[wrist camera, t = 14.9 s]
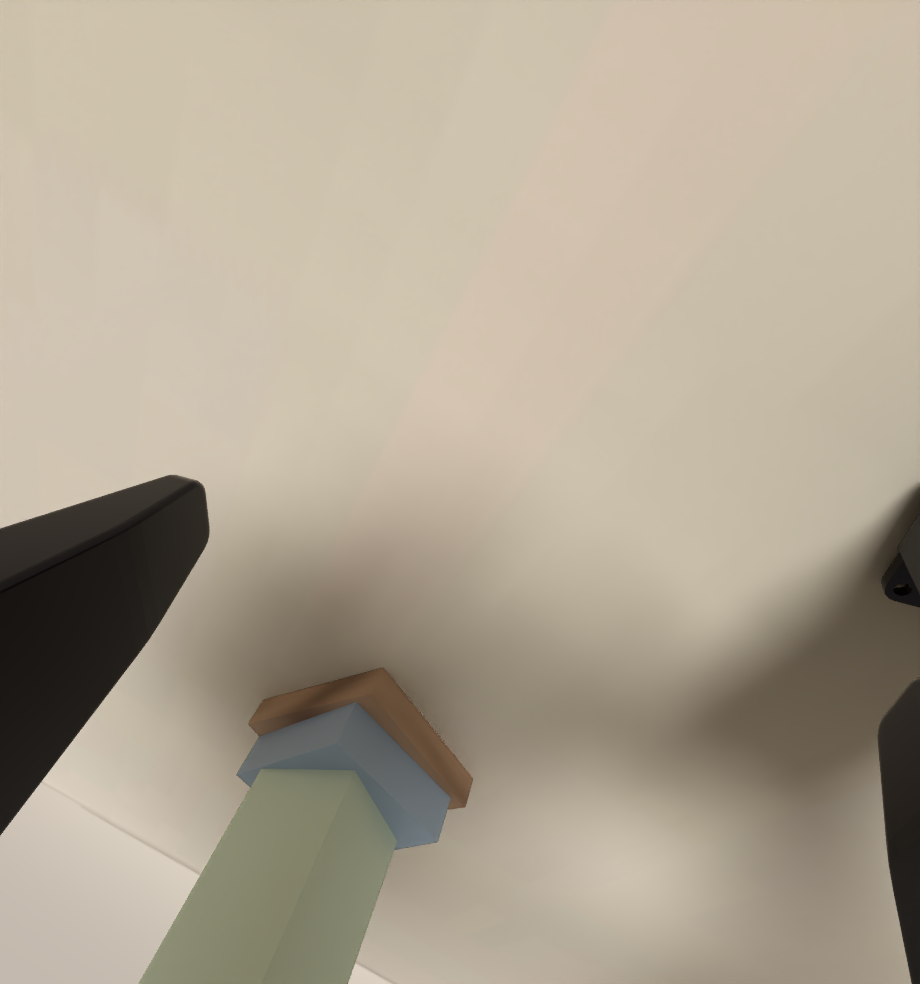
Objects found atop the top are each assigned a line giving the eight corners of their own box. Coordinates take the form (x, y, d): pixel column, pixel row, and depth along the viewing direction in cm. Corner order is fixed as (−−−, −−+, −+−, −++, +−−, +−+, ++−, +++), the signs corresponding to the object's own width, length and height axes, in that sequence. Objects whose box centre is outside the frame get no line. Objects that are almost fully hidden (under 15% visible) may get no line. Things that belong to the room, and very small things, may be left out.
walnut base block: (388, 656, 31) (371, 693, 29) (476, 767, 33) (465, 807, 32) (269, 689, 34) (247, 723, 33) (357, 786, 37) (341, 823, 35)
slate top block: (356, 701, 29) (336, 743, 28) (450, 797, 31) (437, 841, 30) (259, 736, 33) (236, 774, 31) (350, 820, 35) (333, 861, 33)
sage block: (354, 769, 28) (212, 1096, 19) (397, 840, 31) (286, 1162, 22) (261, 768, 30) (91, 1065, 21) (307, 834, 32) (171, 1128, 24)
